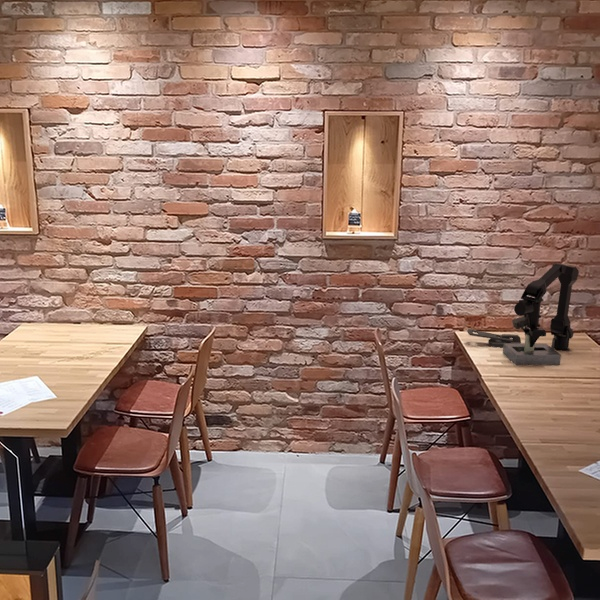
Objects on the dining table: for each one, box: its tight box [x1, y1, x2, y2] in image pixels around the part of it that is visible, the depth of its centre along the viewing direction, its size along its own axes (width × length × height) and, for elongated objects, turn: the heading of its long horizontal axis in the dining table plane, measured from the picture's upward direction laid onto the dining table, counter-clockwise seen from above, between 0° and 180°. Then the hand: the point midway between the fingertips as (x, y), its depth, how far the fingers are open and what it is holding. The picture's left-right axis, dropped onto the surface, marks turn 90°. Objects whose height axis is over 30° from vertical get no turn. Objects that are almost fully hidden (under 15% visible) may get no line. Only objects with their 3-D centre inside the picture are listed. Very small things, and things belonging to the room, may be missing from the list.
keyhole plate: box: [502, 342, 562, 366], centre depth 323 cm, size 20×16×5 cm
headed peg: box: [521, 334, 535, 352], centre depth 322 cm, size 5×5×10 cm
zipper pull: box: [467, 328, 522, 349], centre depth 342 cm, size 9×7×25 cm
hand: (529, 345), depth 322 cm, fingers closed on headed peg, 3 cm apart
